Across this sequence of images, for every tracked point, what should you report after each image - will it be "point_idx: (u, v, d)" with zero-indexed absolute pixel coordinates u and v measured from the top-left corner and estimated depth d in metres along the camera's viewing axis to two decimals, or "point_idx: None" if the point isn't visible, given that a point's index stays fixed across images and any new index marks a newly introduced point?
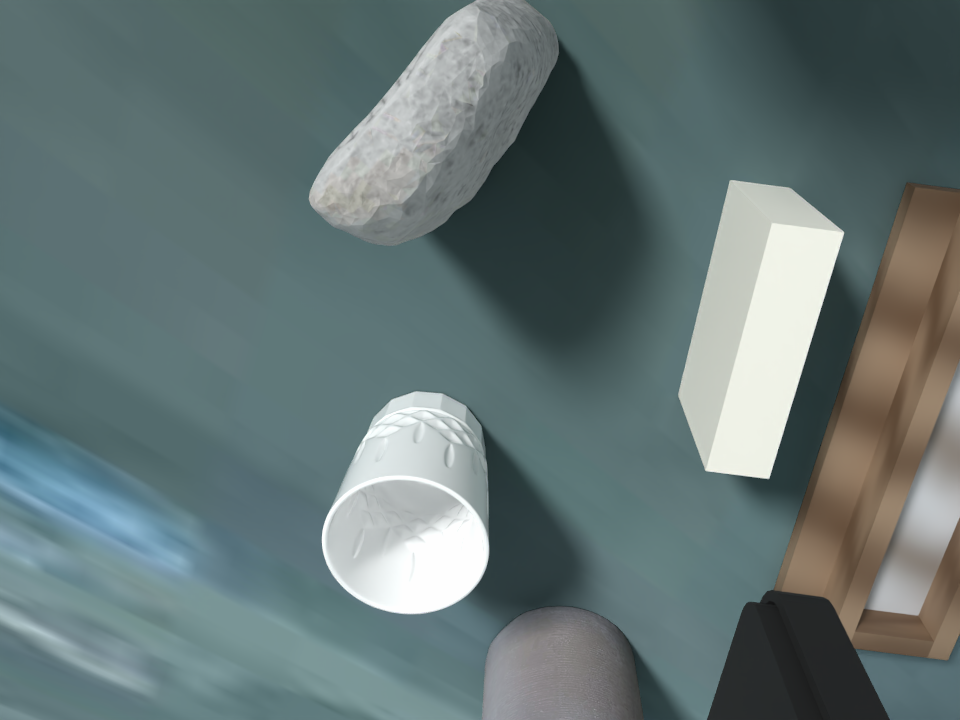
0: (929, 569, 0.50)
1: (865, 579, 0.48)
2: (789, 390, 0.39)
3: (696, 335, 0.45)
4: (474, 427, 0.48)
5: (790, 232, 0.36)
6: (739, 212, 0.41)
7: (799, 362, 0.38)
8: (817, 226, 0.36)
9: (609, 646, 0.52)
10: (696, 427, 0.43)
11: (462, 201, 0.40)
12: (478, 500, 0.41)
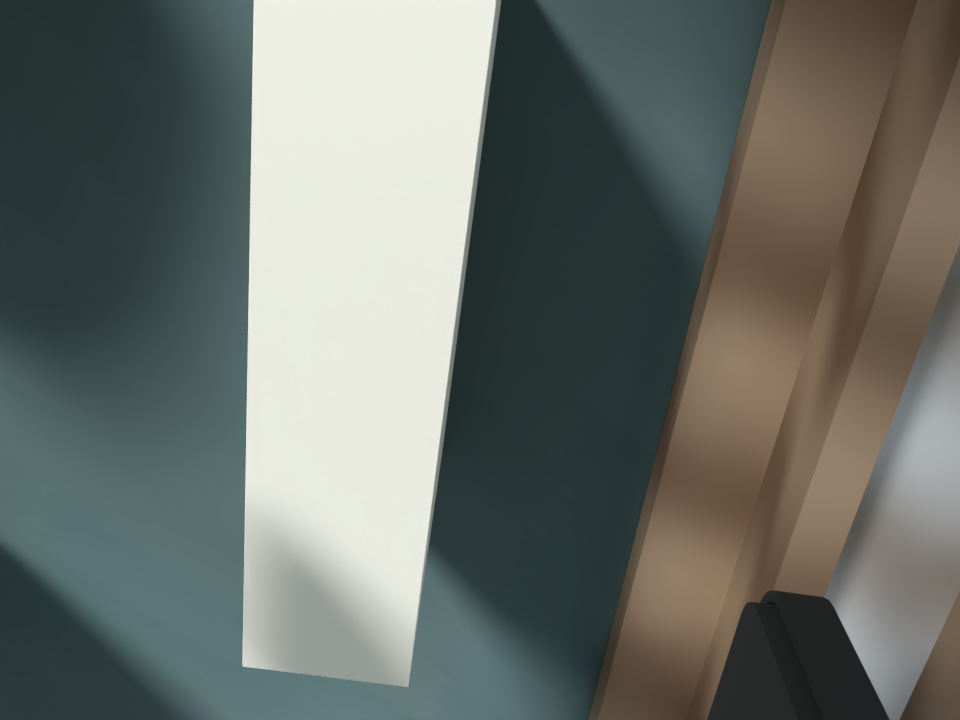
0: None
1: None
2: (417, 470, 0.14)
3: None
4: None
5: None
6: None
7: (431, 391, 0.13)
8: None
9: None
10: None
11: None
12: None
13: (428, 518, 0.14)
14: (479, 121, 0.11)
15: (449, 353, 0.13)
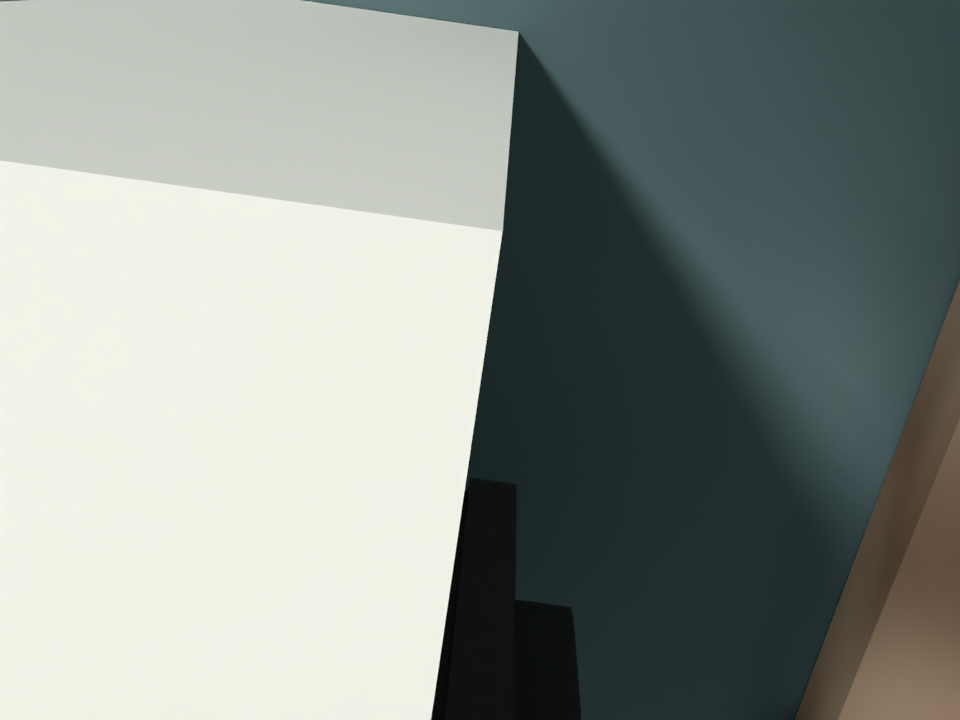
0: None
1: None
2: None
3: None
4: None
5: None
6: None
7: None
8: (165, 140, 0.02)
9: None
10: None
11: None
12: None
13: None
14: None
15: None
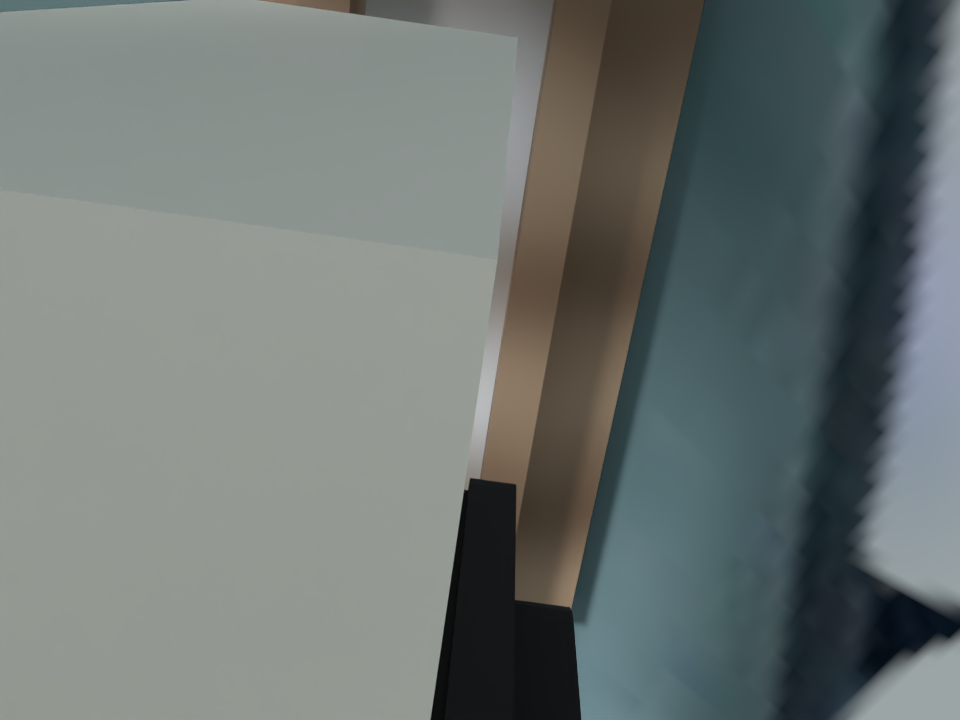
0: None
1: None
2: None
3: None
4: None
5: None
6: None
7: None
8: (161, 163, 0.02)
9: None
10: None
11: None
12: None
13: None
14: None
15: None
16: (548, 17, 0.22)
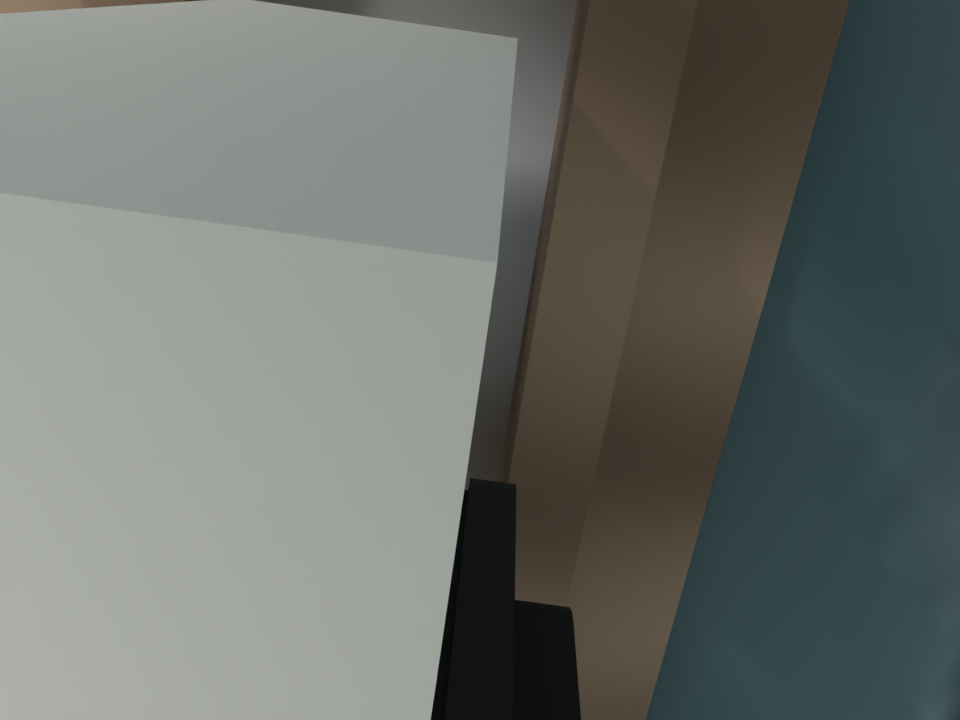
0: None
1: None
2: None
3: None
4: None
5: None
6: None
7: None
8: (160, 165, 0.02)
9: None
10: None
11: None
12: None
13: None
14: None
15: None
16: (566, 42, 0.12)
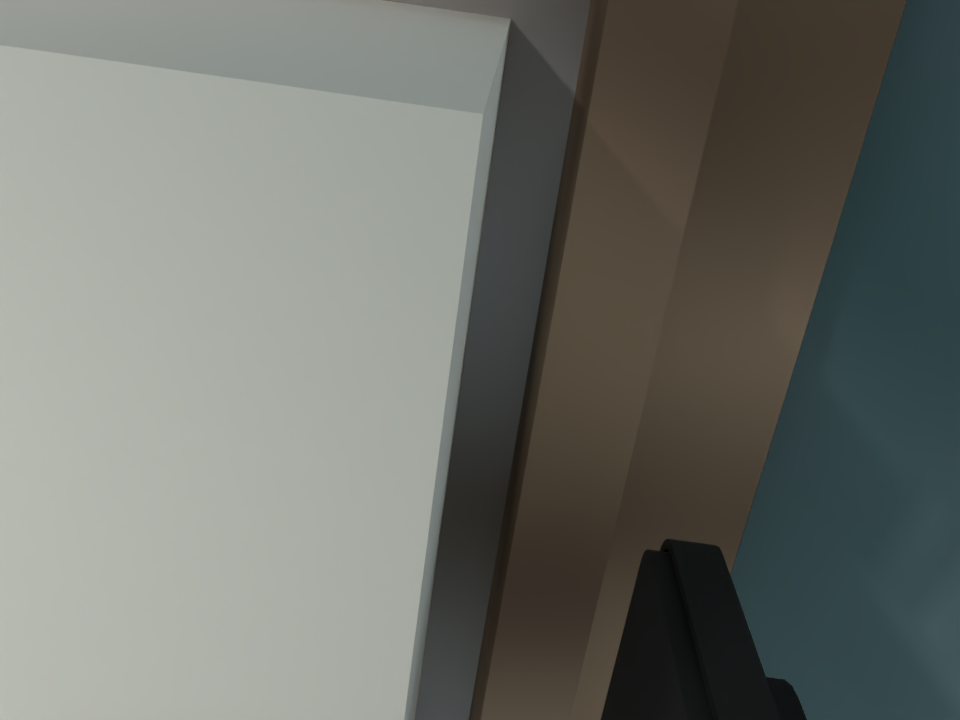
0: None
1: None
2: None
3: None
4: None
5: None
6: None
7: None
8: None
9: None
10: None
11: None
12: None
13: None
14: (419, 567, 0.04)
15: None
16: (575, 58, 0.11)
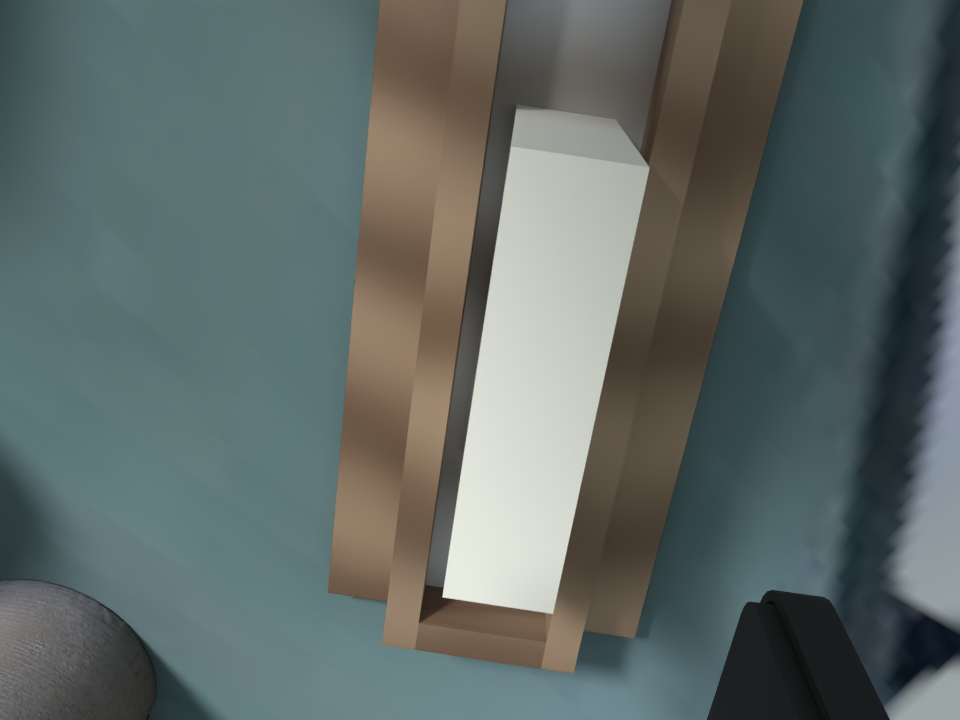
0: None
1: (415, 534, 0.29)
2: (574, 463, 0.21)
3: None
4: None
5: (547, 167, 0.19)
6: None
7: (587, 413, 0.21)
8: (604, 157, 0.19)
9: (64, 641, 0.33)
10: None
11: None
12: None
13: (577, 495, 0.22)
14: (630, 253, 0.19)
15: (600, 389, 0.21)
16: (640, 134, 0.26)
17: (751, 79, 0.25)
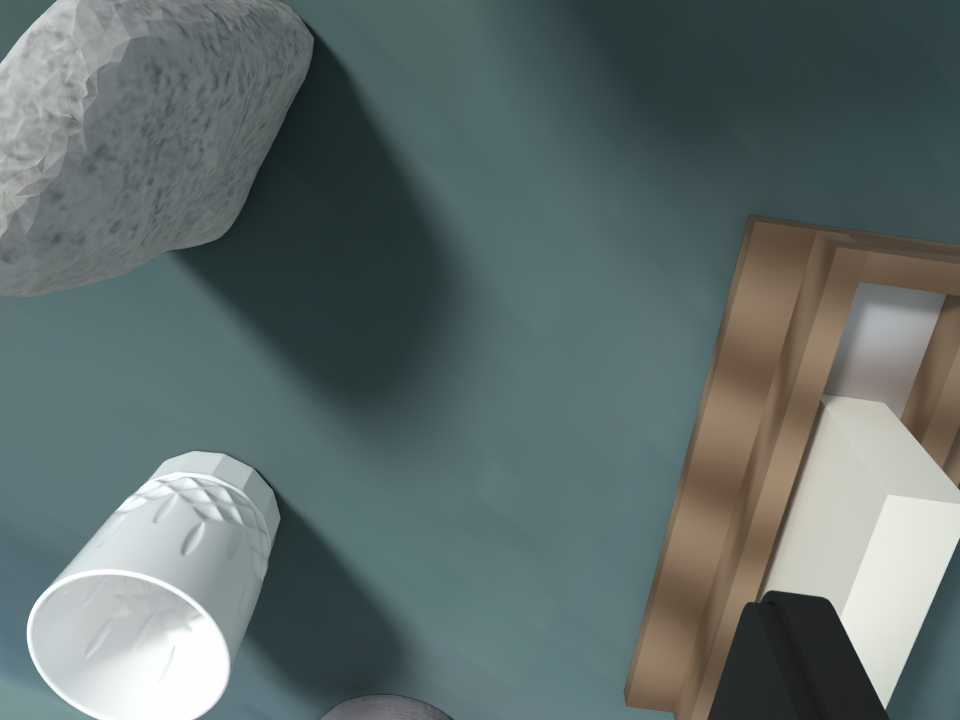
0: None
1: (718, 676, 0.41)
2: (895, 668, 0.33)
3: (770, 558, 0.40)
4: (258, 495, 0.40)
5: (908, 505, 0.30)
6: (832, 444, 0.35)
7: (909, 639, 0.32)
8: (939, 495, 0.30)
9: None
10: None
11: (200, 233, 0.33)
12: (220, 595, 0.34)
13: None
14: None
15: (920, 625, 0.32)
16: (899, 410, 0.38)
17: None
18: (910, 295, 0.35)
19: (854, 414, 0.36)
